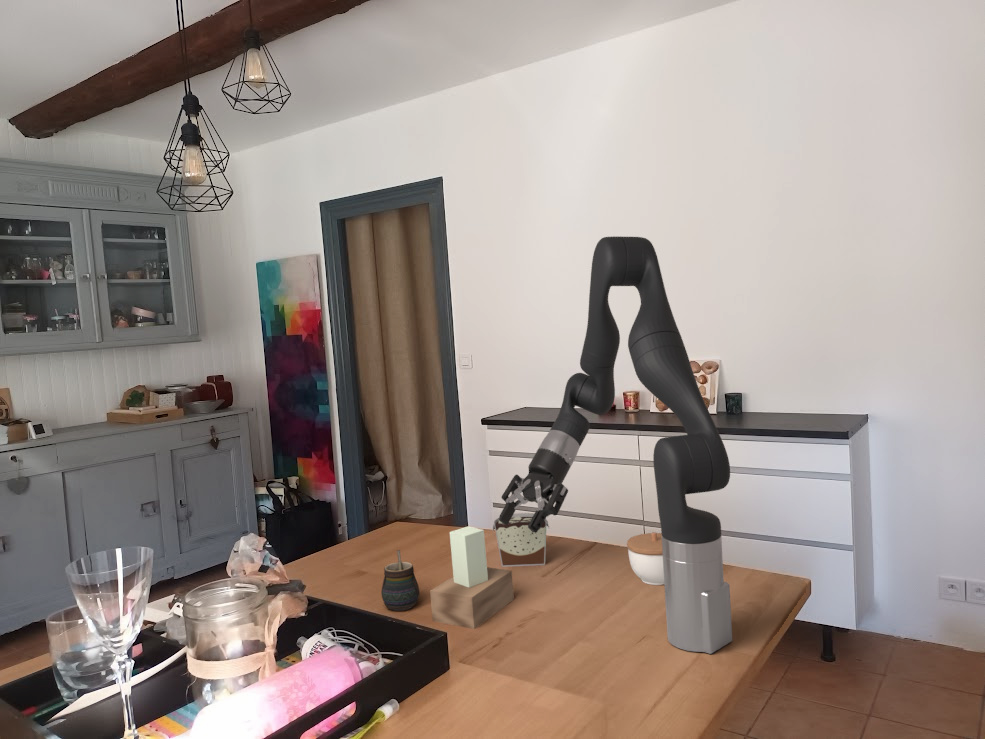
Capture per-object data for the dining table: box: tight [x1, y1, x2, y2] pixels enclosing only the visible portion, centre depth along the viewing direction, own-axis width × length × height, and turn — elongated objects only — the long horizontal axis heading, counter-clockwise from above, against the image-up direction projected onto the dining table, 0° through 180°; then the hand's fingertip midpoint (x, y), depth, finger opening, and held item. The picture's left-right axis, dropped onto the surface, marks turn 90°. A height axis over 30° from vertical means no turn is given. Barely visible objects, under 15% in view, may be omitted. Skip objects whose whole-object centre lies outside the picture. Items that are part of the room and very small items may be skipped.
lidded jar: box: [626, 531, 664, 586], centre depth 146 cm, size 11×11×9 cm
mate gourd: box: [380, 549, 421, 612], centre depth 142 cm, size 7×8×10 cm
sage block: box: [449, 525, 488, 588], centre depth 136 cm, size 4×4×10 cm
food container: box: [491, 512, 550, 567], centre depth 162 cm, size 12×6×10 cm, turn 84°
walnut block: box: [429, 566, 515, 630], centre depth 138 cm, size 9×14×6 cm, turn 149°
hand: (516, 526), depth 144 cm, fingers open, 8 cm apart
